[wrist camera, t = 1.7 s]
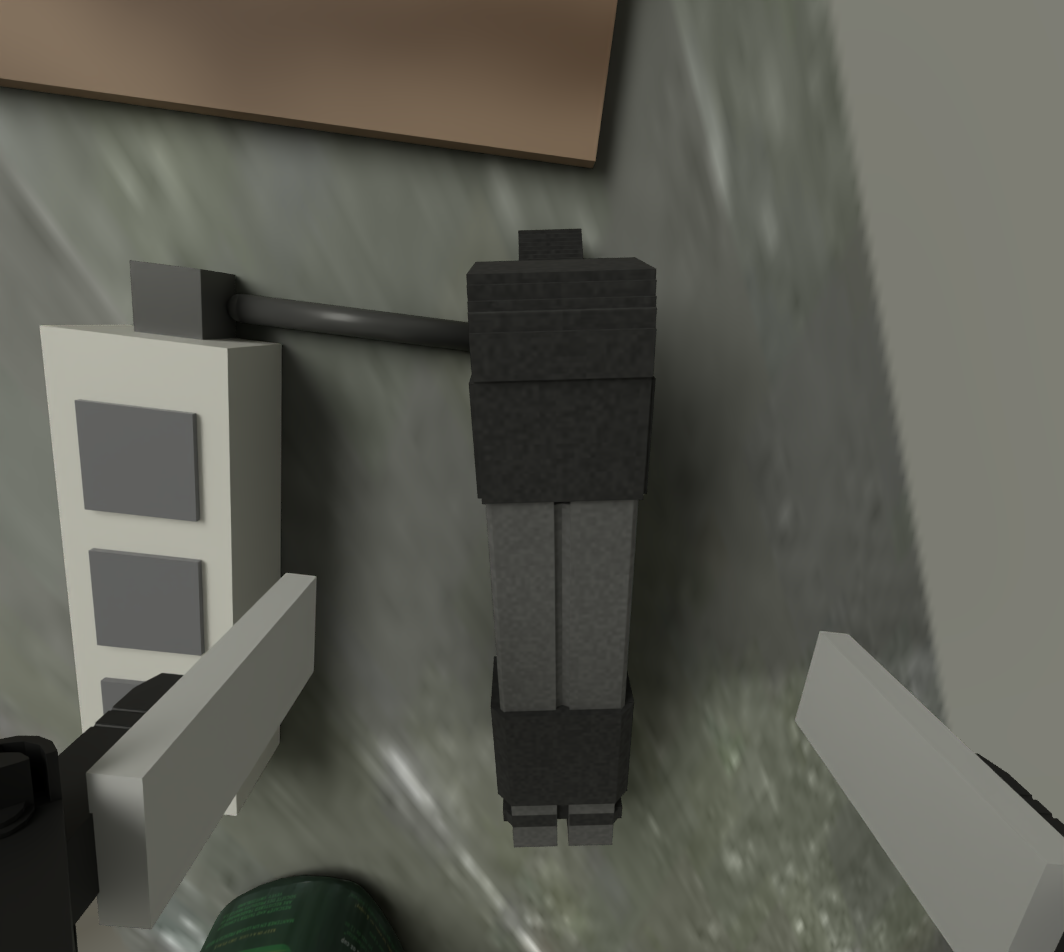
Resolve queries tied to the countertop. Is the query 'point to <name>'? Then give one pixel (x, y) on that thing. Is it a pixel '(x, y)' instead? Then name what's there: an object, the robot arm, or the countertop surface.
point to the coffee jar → (303, 919)
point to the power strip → (178, 469)
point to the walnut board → (336, 65)
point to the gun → (561, 519)
